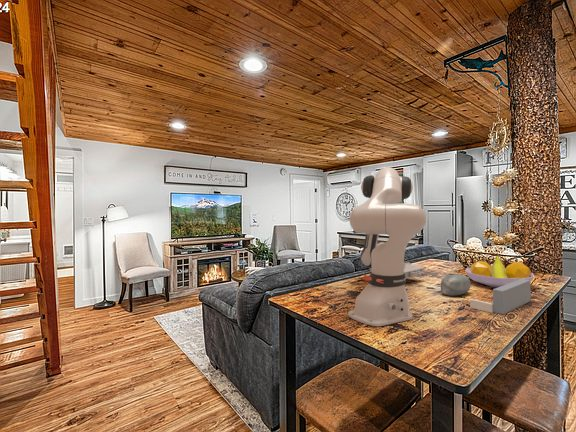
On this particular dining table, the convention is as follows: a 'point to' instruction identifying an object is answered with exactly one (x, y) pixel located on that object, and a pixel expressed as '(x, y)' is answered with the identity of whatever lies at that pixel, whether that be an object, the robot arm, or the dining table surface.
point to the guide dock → (506, 298)
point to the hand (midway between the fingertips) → (422, 275)
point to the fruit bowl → (498, 273)
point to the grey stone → (455, 284)
